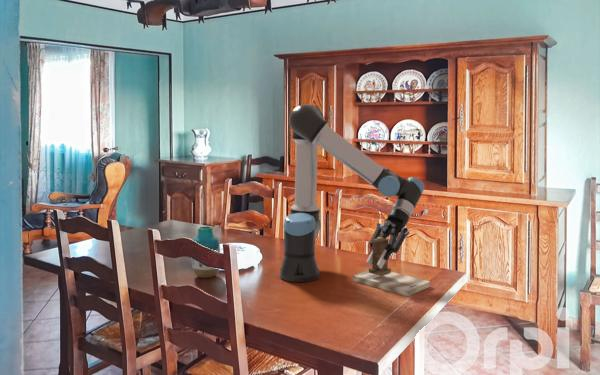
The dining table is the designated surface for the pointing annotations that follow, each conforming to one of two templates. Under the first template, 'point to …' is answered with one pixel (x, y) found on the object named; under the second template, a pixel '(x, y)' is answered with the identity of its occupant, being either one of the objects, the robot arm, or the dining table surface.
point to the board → (393, 282)
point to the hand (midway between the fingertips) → (373, 265)
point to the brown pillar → (378, 248)
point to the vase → (211, 242)
